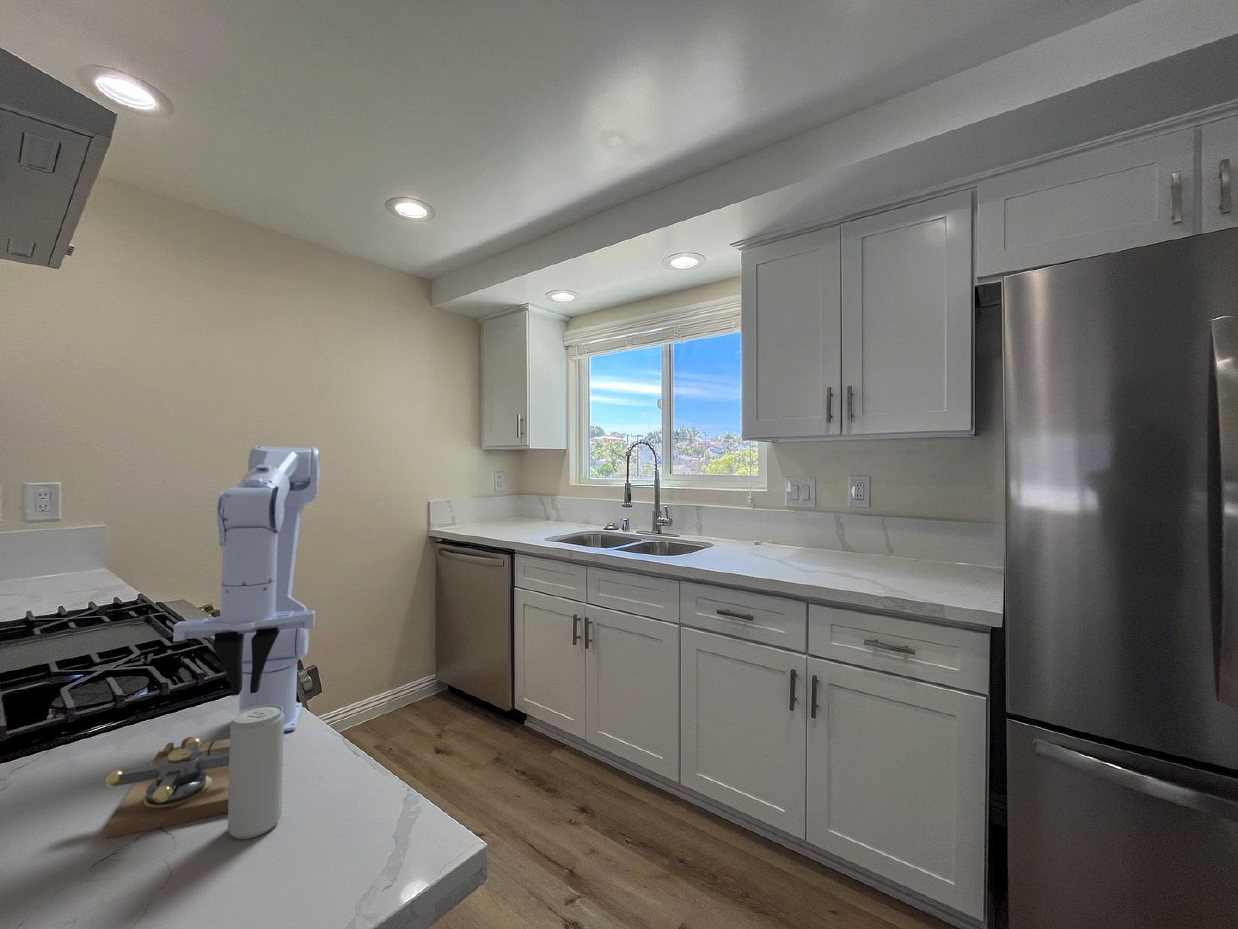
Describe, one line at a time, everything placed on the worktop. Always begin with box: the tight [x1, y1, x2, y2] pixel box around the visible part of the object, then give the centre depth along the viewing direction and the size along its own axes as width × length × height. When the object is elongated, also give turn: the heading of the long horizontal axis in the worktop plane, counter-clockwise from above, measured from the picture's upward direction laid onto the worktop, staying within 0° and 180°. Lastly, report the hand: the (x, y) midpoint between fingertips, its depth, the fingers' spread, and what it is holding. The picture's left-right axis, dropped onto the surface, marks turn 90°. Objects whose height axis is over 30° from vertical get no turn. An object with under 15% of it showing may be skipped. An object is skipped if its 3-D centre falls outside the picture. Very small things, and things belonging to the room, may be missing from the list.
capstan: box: [104, 737, 229, 805], centre depth 61 cm, size 13×13×4 cm
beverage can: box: [227, 705, 285, 840], centre depth 58 cm, size 5×5×12 cm
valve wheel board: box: [104, 736, 230, 839], centre depth 65 cm, size 16×12×4 cm
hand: (246, 691), depth 67 cm, fingers closed
